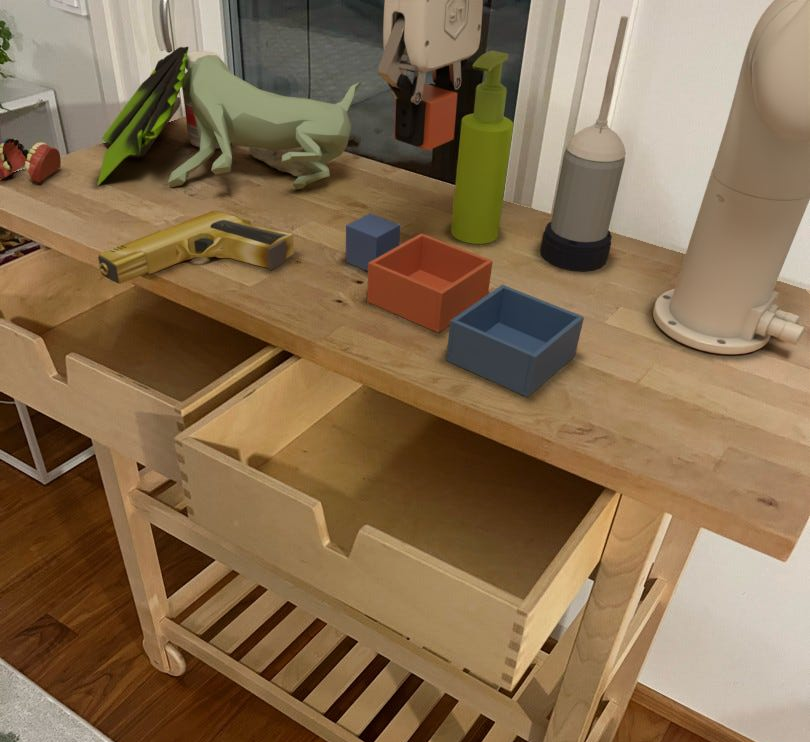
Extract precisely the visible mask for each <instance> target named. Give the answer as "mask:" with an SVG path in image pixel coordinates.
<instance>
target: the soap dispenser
mask: <svg viewBox="0 0 810 742" xmlns="http://www.w3.org/2000/svg"><path fill="white" fill-rule="evenodd" d="M508 60H509V53H507V52H501V51H497V50H490V51H487V52H485V53H483V54H481V55H480V56H479V57H478V58H477V59H476V60H475V61H474V62H473V64H472V68H473V69H474V70H478V71H482V72H485V77H484V81H482V82H481V83H478V85H477V86H476V87H475V98H474V106H473V113H469V114H466V115H464V116H463V117H462V118H461V123H460V134H459V145H458V154H457V155H458V156H457V164H456V175H455V185H454V194H453V205H452V214H451V215H452V216H451V224H450V225H451V226H450V234H451V236H452V237H454V239H456V240H457V241H459V242H462V243H466V244H473V245H483V244H484V245H485V244H489V243H492V242H494V241H496V240H497V239H498V237H499V231H500V223H501V215H502V209H503V202H504V195H505V194H504V193H505V190H506V189H505V186H506V181H507V172H508V167H509V159H510V153H511V146H512V138H513V131H514V122H513V121H512V120H511V119H510V118H508V117H506V116H504V115H505V106H506V101H507V93H508V89H507V86H504V85H503V84H502V83H501V79H502V71H503V64H504V62H506V61H508Z"/></svg>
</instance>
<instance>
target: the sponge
mask: <svg viewBox="0 0 810 742" xmlns="http://www.w3.org/2000/svg"><path fill="white" fill-rule="evenodd" d="M302 149H303V147H299V148H291V149H283V150H270V149H261V148H253V147H248V153H249V154H250V155H252V157H253V158H254V159H257V160H259V161H262V162H264V163H265V164H266V165H268V166H270V168H273V169H277V171H278V172H283V173H289V175H290V174H291V175H292V176H293V177H297V178H298V177H301V176H305V175H309V174H312V173H313V172H312V171H310V170H309V169H307V168H306V167H305V166H303V165H302V164H301V163H300V162H291V163H290V165H288V164H285V163H282V162H281V160H282V155H284V154H286V153H288V152H301V150H302ZM320 163H322V164H324V162H320Z"/></svg>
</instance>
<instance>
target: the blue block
mask: <svg viewBox="0 0 810 742" xmlns="http://www.w3.org/2000/svg"><path fill="white" fill-rule="evenodd" d="M400 238H401V224H400V223H397V222H394V221H391V220H389V219H387V218H384V217H381V216H379V215H376V214H375V213H371V212H369V213H368V214H366V215H363V216H361V217H360V218H357V219H356V220H354V221H352V222H349V223H348V224H346V225H345V263H347V264H350V265H352V266H353V267H357V268H359V269H362V270H364V271H366V272H368V263H369V262H371V261H372V260H374V259H376V258H378V257H380V256H381V255H383V254H385V253H387V252H388V251H390V250H392V249H394V248H396V247H397V246H399V245H400V241H401V240H400Z"/></svg>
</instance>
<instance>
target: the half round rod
mask: <svg viewBox="0 0 810 742" xmlns="http://www.w3.org/2000/svg"><path fill="white" fill-rule="evenodd" d="M181 100H182V99H181V97H180V96H177V99H176V101H175V103H174V107H173V111H171V112H170V115H169V117H168V118H167V120H166V121H165V123H164V125H163V127H162V130H161V131H160V133H159V134H158V135H157V137H155V138H152V139H151V140H150V142H149V143H148V145H143V147H142V148H141V151H140V154H139V155H129V157H133V158H140V157H143V156H145V154H146V153H147V152H148V151H149V149H150V148H151V147H152V146H153V144H154V142H155V141H156V140H157V139H158V137H159V136H160V135H161V133H162V132H163V130H164V129H165V128H166V126H167V125H168V123H169V122H170V121H171V119H172V118H173V117H174V115H175V114H176V113H177V111H178V110H179V108H180V107H181Z"/></svg>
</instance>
